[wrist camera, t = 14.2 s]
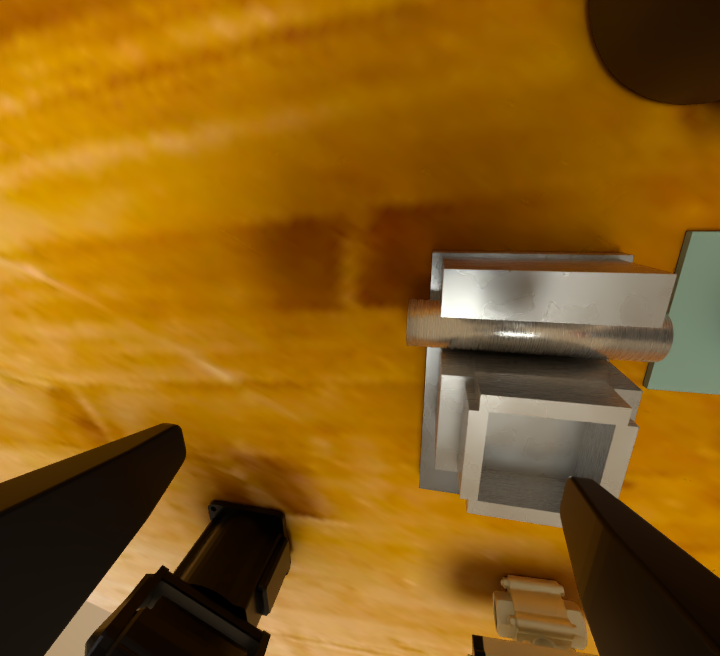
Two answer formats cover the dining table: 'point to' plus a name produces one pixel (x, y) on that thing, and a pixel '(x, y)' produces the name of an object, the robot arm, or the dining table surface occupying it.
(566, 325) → the clamp base
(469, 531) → the dining table surface
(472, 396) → the bracket
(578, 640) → the pneumatic valve
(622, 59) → the mug
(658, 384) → the mat
